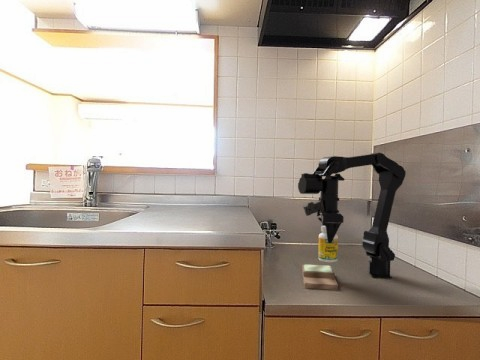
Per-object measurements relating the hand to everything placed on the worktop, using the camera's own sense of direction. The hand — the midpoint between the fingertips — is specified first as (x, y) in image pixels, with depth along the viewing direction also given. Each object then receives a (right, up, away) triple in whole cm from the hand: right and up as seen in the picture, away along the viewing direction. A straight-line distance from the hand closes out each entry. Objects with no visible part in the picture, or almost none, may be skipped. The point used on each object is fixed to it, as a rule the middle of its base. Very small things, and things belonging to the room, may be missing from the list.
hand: (328, 240), depth 112 cm
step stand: (-3, -13, -1) cm, 14 cm away
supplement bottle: (0, -7, 0) cm, 7 cm away
